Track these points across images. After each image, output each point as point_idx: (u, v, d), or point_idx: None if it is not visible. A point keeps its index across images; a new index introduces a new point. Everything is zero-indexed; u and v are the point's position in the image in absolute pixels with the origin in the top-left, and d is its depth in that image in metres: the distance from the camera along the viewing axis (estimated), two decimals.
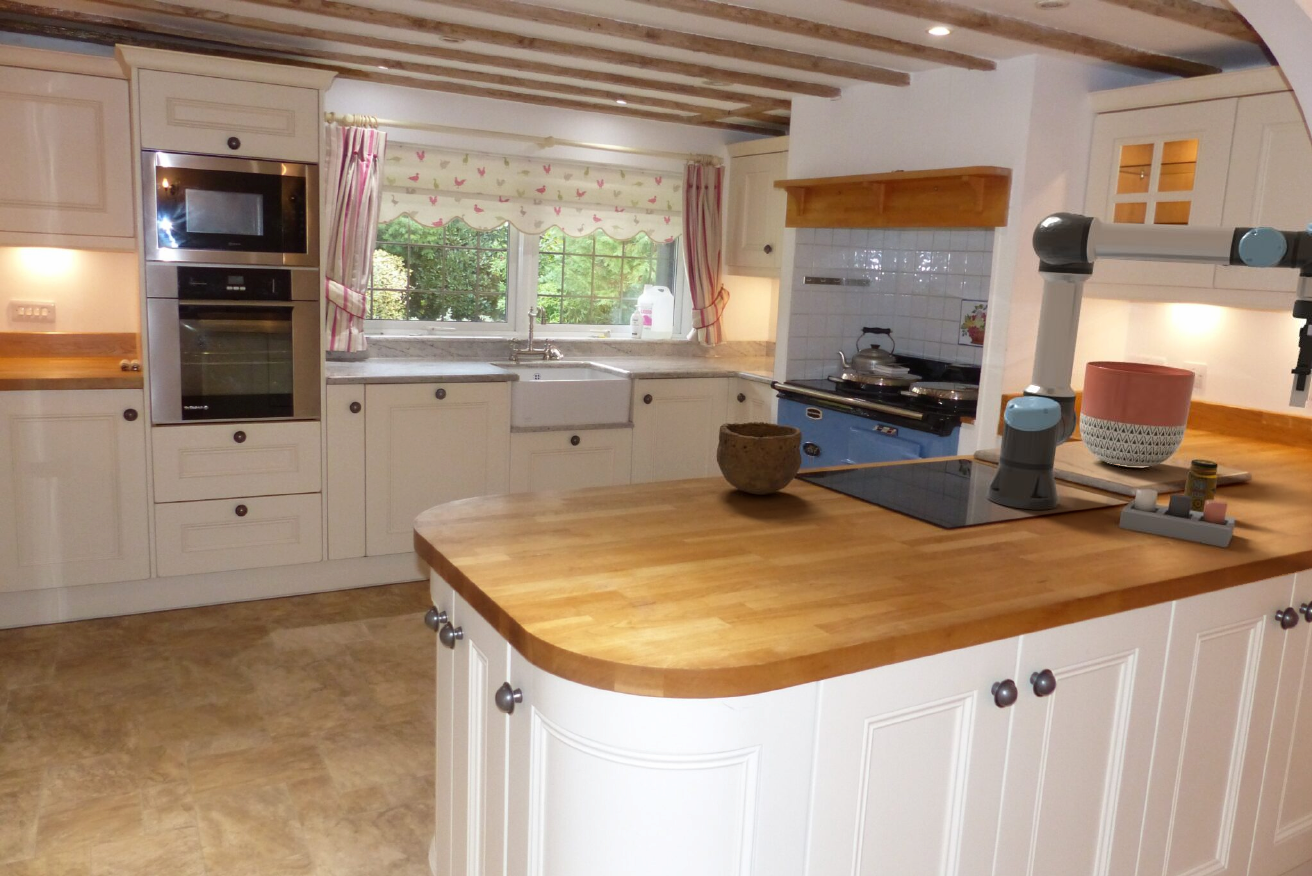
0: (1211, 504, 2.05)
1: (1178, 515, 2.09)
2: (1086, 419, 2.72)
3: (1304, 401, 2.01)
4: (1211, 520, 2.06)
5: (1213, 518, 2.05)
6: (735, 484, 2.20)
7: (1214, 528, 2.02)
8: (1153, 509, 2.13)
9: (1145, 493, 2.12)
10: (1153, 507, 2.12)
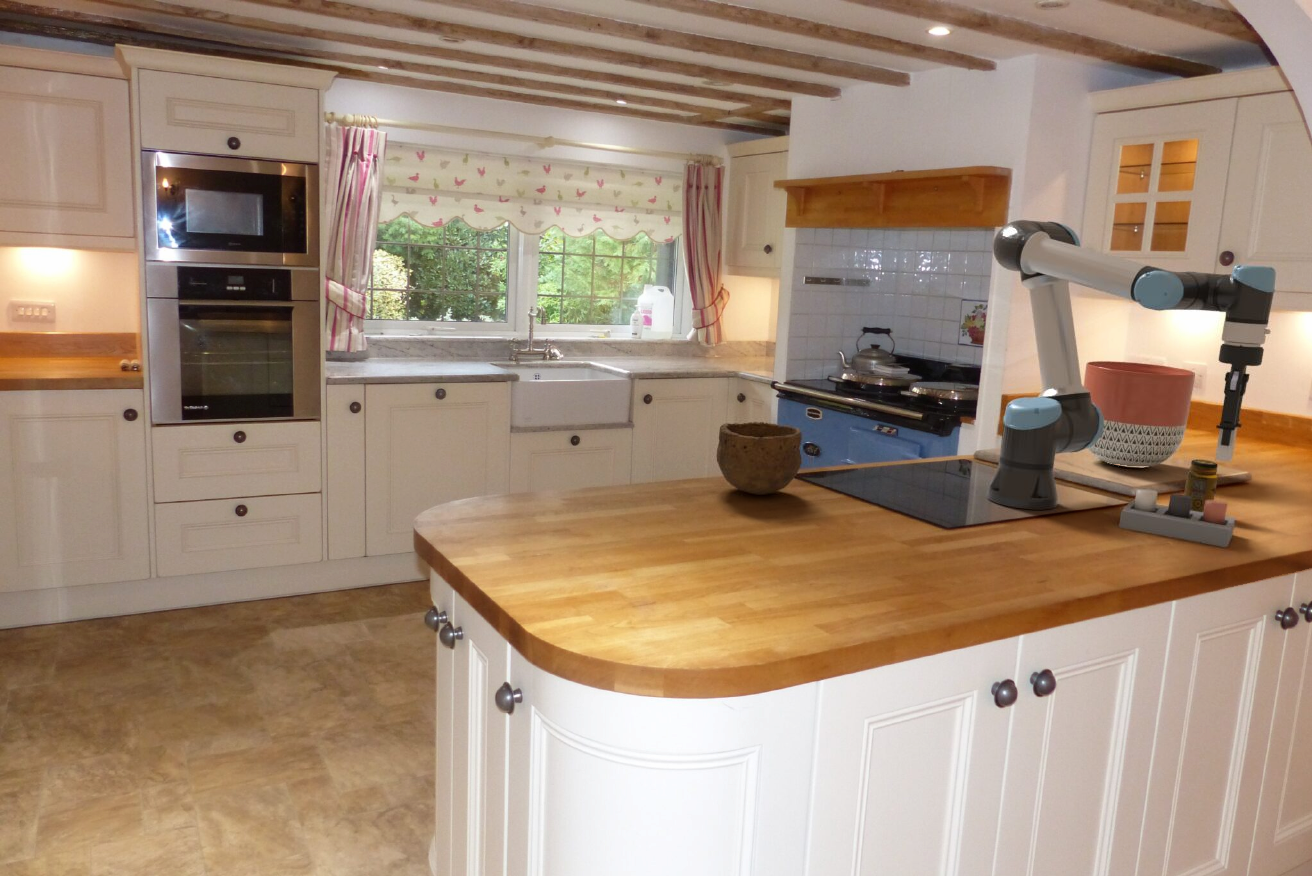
0: (1211, 504, 2.05)
1: (1178, 515, 2.09)
2: None
3: (1229, 455, 2.02)
4: (1211, 520, 2.06)
5: (1213, 518, 2.05)
6: (735, 484, 2.20)
7: (1214, 528, 2.02)
8: (1153, 509, 2.13)
9: (1145, 493, 2.12)
10: (1153, 507, 2.12)
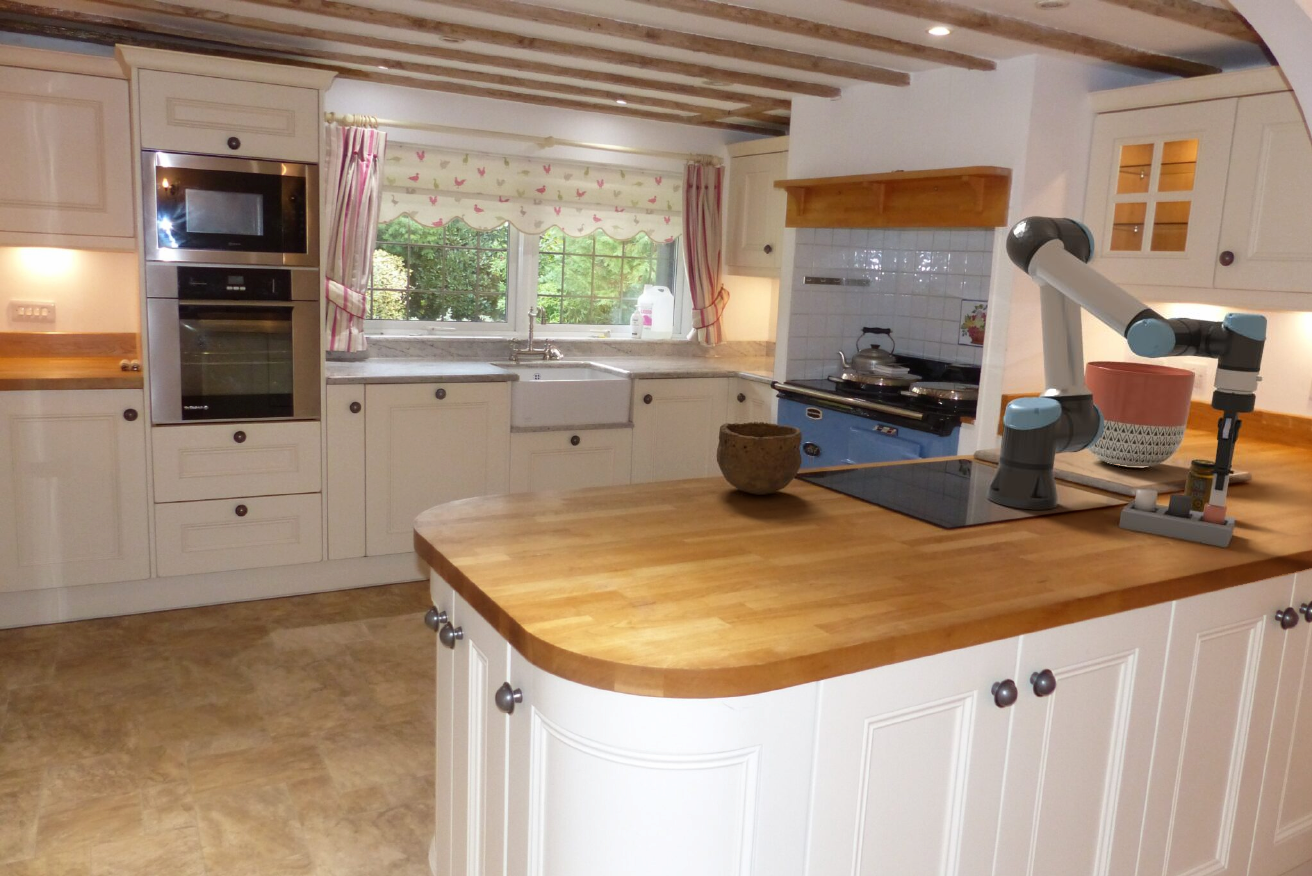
0: (1210, 508, 2.05)
1: (1178, 515, 2.09)
2: None
3: (1223, 500, 2.05)
4: None
5: (1212, 522, 2.05)
6: (735, 484, 2.20)
7: (1214, 528, 2.02)
8: (1153, 509, 2.13)
9: (1145, 493, 2.12)
10: (1153, 507, 2.12)
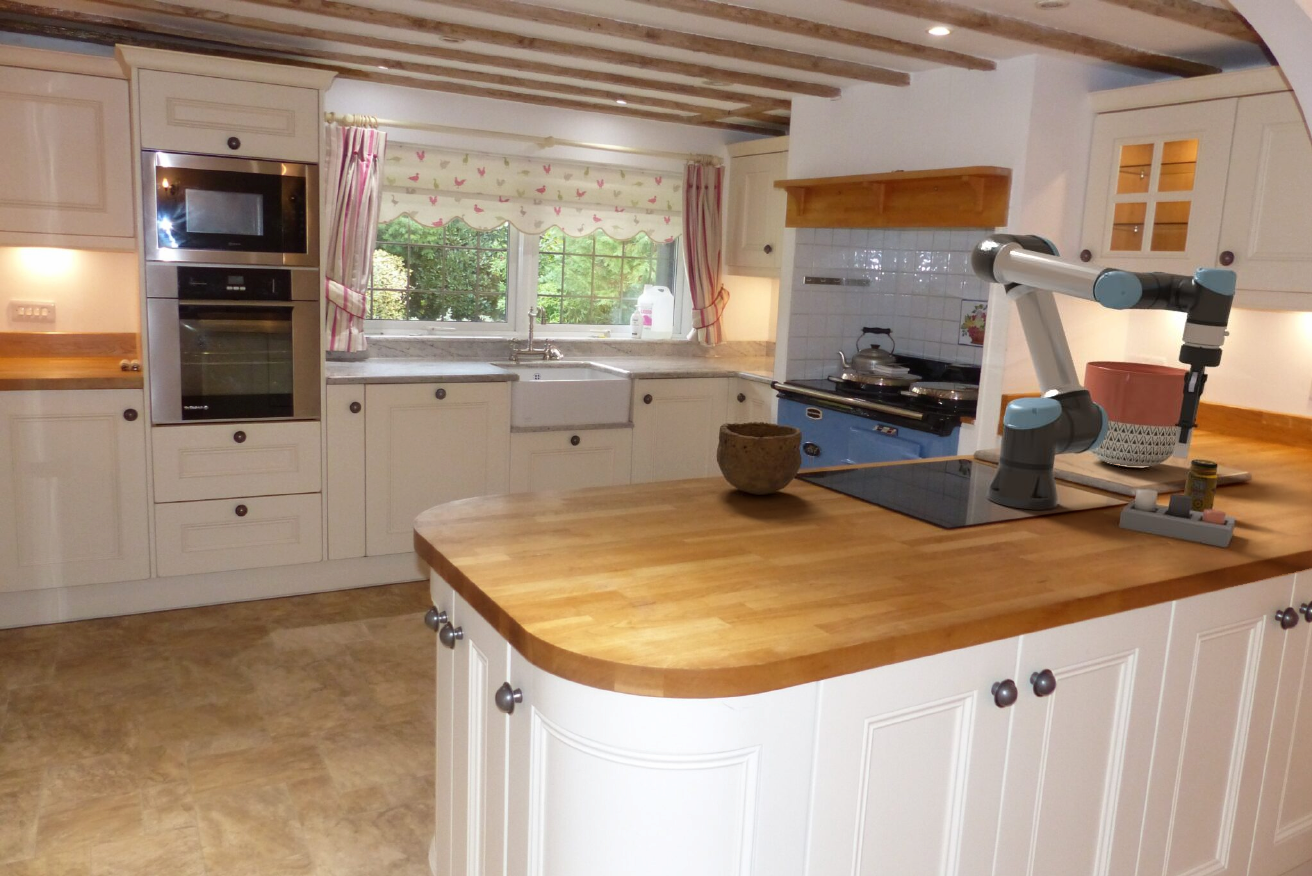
0: (1209, 513, 2.06)
1: (1178, 515, 2.09)
2: None
3: (1186, 453, 2.08)
4: None
5: None
6: (735, 484, 2.20)
7: (1214, 528, 2.02)
8: (1153, 509, 2.13)
9: (1145, 493, 2.12)
10: (1153, 507, 2.12)
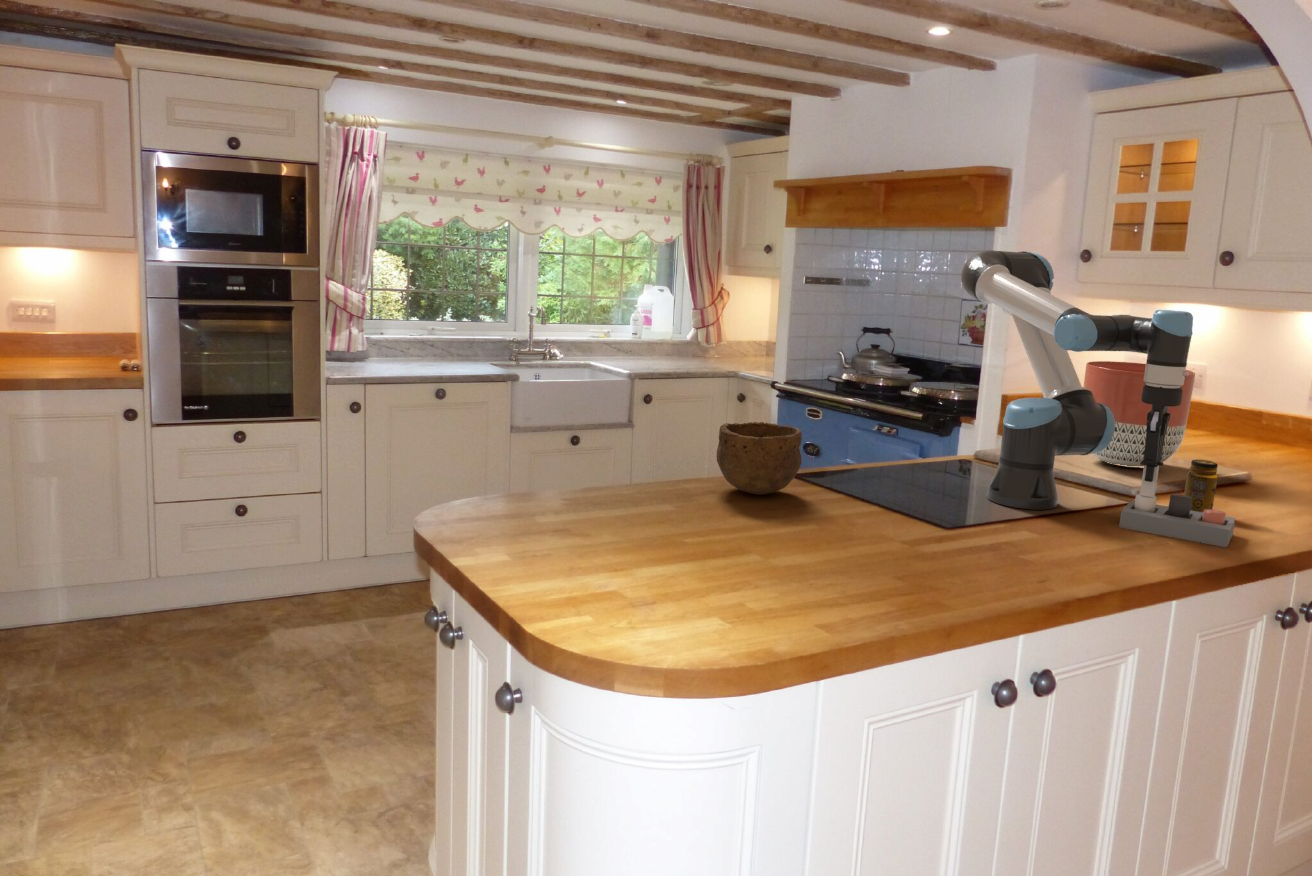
0: (1209, 513, 2.06)
1: (1178, 515, 2.09)
2: None
3: (1153, 491, 2.12)
4: None
5: None
6: (735, 484, 2.20)
7: (1214, 528, 2.02)
8: None
9: (1144, 499, 2.12)
10: None
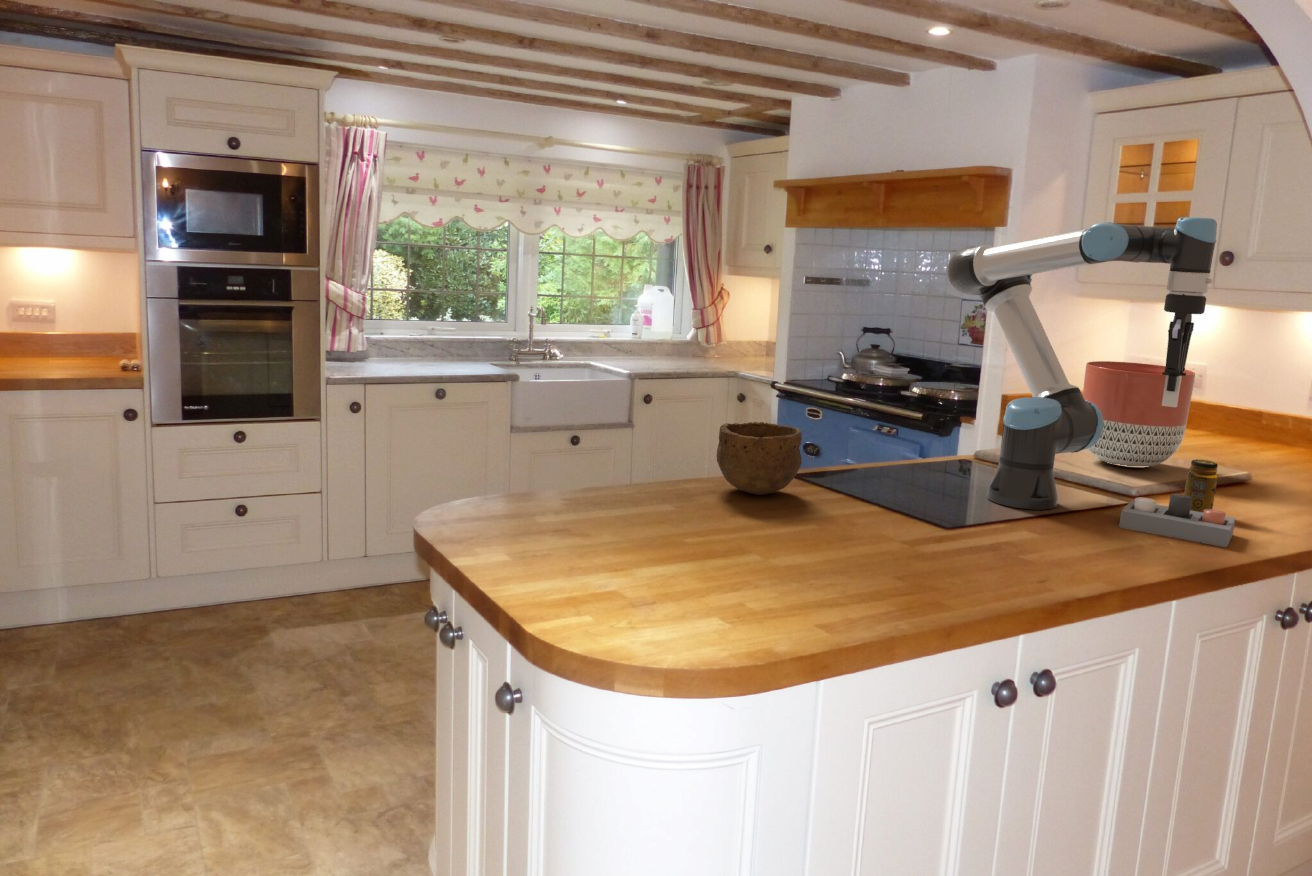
0: (1209, 513, 2.06)
1: (1178, 515, 2.09)
2: None
3: (1175, 401, 2.11)
4: None
5: None
6: (735, 484, 2.20)
7: (1214, 528, 2.02)
8: None
9: (1144, 502, 2.12)
10: None
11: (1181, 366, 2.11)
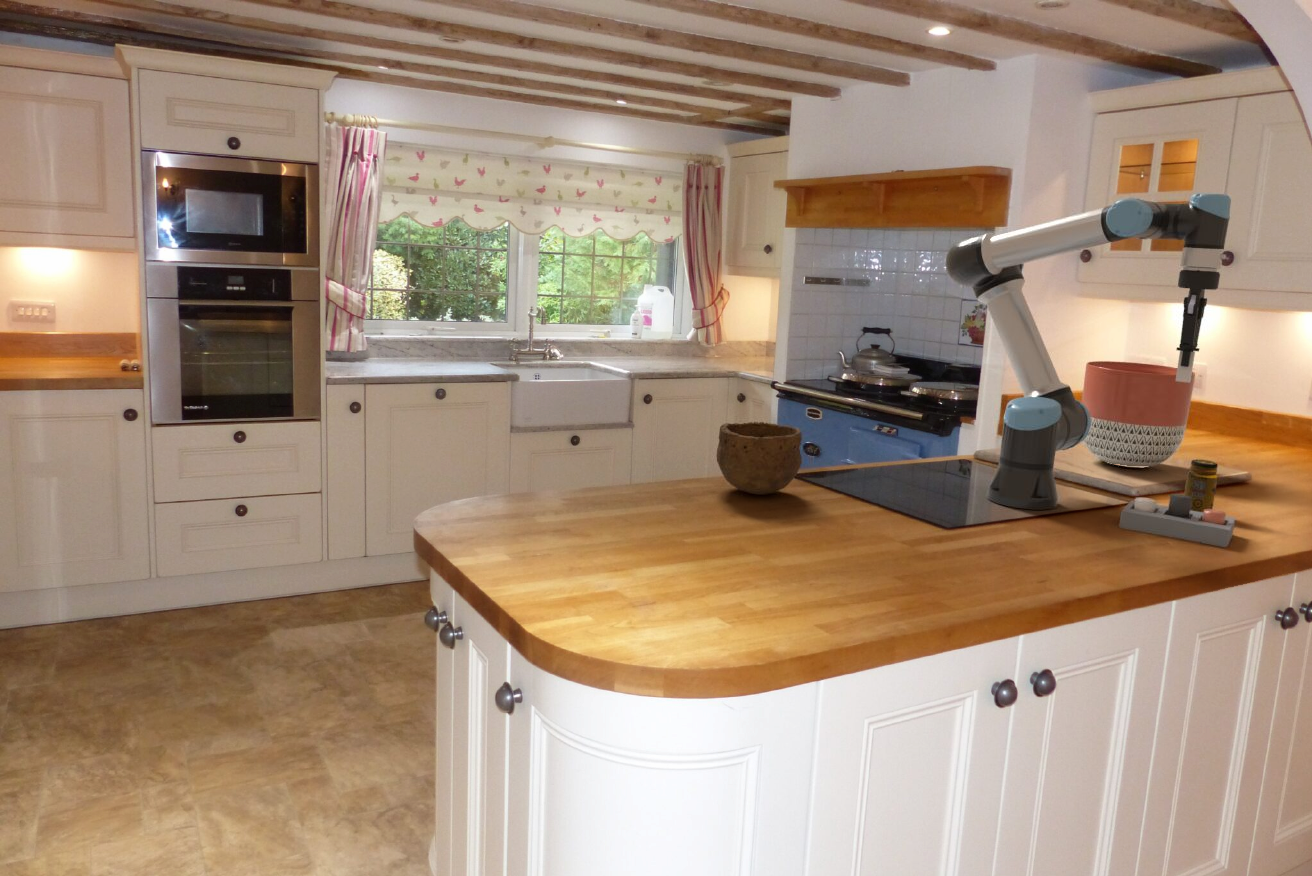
0: (1209, 513, 2.06)
1: (1178, 515, 2.09)
2: None
3: (1189, 376, 2.13)
4: None
5: None
6: (735, 484, 2.20)
7: (1214, 528, 2.02)
8: None
9: (1144, 502, 2.12)
10: None
11: (1194, 342, 2.13)
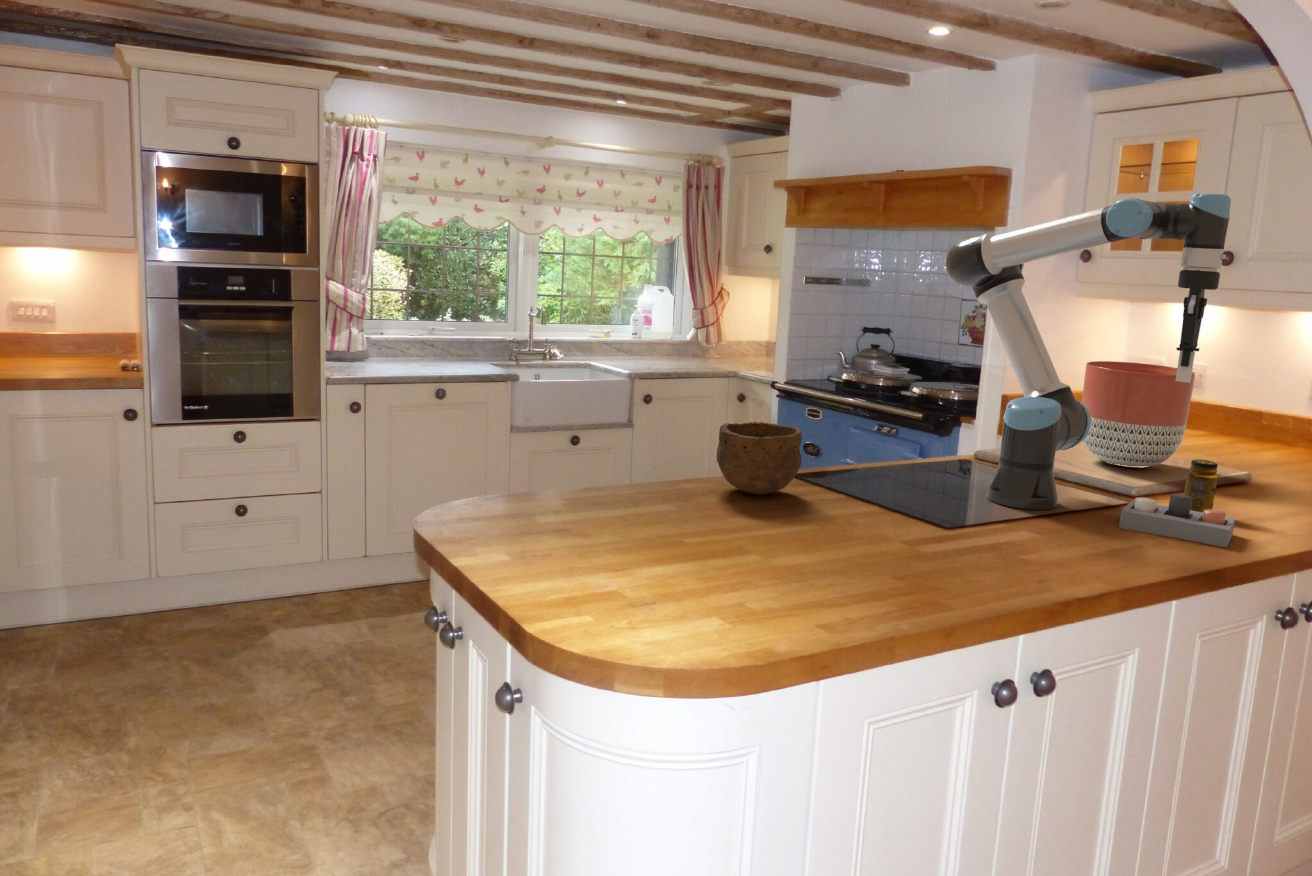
0: (1209, 513, 2.06)
1: (1178, 515, 2.09)
2: None
3: (1189, 376, 2.13)
4: None
5: None
6: (735, 484, 2.20)
7: (1214, 528, 2.02)
8: None
9: (1144, 502, 2.12)
10: None
11: (1194, 342, 2.13)
